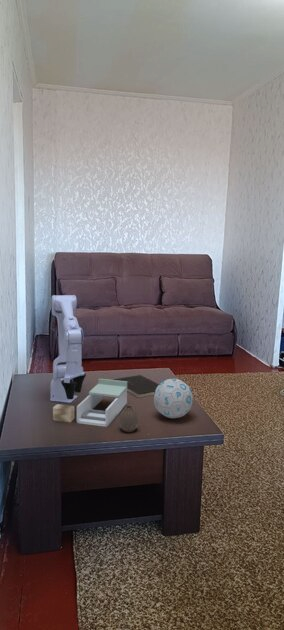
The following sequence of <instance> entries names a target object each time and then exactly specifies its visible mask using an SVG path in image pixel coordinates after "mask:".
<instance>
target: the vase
mask: <svg viewBox="0 0 284 630" xmlns="http://www.w3.org/2000/svg"><path fill="white" fill-rule="evenodd" d="M138 424H139V416H138V413H137V411H135V409H134V407H133V405H125V406H124V409H122V410H121V413H119V418H118V425H119V427H120V429H121V430H122V431H124V432H126V433H131V432H134V431H135V430H137V427H138Z"/></svg>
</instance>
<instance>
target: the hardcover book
mask: <svg viewBox="0 0 284 630" xmlns="http://www.w3.org/2000/svg"><path fill="white" fill-rule="evenodd" d="M112 380H118V381H127V393H130V394H132V395H133V396H135V397H137V398H142V397H143V398H144V397H149V396H154V394H155V390H156V388H157V387H158V385H159V384H160V383H158V382H155V381H153V380H151V379H149V378H147V377H146V376H143V375H142V374H139V375H131V376H125V377H118V378H113V379H112Z"/></svg>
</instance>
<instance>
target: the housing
mask: <svg viewBox="0 0 284 630" xmlns="http://www.w3.org/2000/svg"><path fill="white" fill-rule="evenodd" d="M101 401H102V396H101V395H92V394H88V395H87V396H86V397H85V398H84V399H82V401H80V403H79V404H77V405H76V424H79V425H80V424H81V425H89V426H97V427H103V428H104V427H105V428H109V426H110V425H111V423H112V422H113V421H114V420H115V418H116V417H117V416H118V415H119V414H120V412H122V411H123V410H124V409H123V408H125V407H126V406H127V404H128V391H127V389H126V390H125V391H124V392H123V393H122V394H121V396H120V397H115V399H114V400H113V401H112V402H111V403H110V404H109V405H108V406H107V408H105V410H101V409H100V410H99V409H94V408H95V407H96V406H97V405H99V404H100V402H101Z"/></svg>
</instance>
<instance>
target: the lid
mask: <svg viewBox="0 0 284 630" xmlns="http://www.w3.org/2000/svg"><path fill="white" fill-rule="evenodd" d="M126 389H127V381H118V380H113V379H108V378H107V379H106V378H98V379H97V384H96V385H95V386H94V387H92V389H90V390H89V391H88V395H90V394H92V395H101V397H110V398H111V397H112V398H117V397H120V396H121V394H122V393H123V392H124V391H125V390H126Z"/></svg>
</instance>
